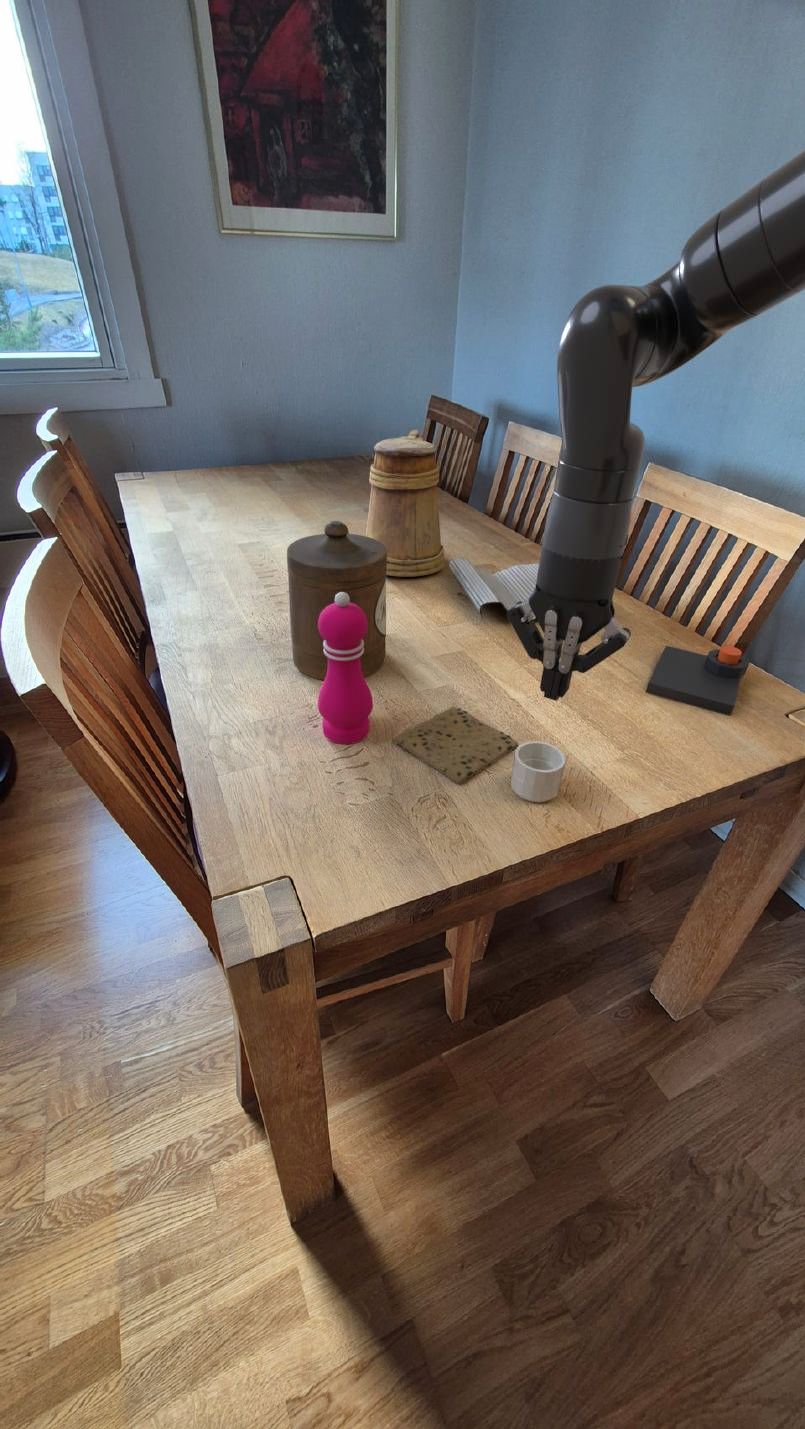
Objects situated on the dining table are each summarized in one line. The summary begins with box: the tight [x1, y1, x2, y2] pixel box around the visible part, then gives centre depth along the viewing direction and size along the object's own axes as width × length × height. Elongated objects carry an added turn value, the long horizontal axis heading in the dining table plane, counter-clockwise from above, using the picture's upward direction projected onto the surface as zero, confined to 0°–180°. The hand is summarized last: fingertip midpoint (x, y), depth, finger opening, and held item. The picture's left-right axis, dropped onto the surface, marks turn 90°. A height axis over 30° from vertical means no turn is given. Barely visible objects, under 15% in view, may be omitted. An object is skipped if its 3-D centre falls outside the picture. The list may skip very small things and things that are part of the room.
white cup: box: [509, 740, 567, 803], centre depth 74 cm, size 6×6×5 cm
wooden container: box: [286, 520, 387, 681], centre depth 95 cm, size 15×15×22 cm
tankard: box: [365, 429, 445, 578], centre depth 131 cm, size 18×24×25 cm
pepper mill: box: [317, 592, 374, 745], centre depth 79 cm, size 7×7×20 cm
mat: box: [448, 556, 539, 624], centre depth 122 cm, size 23×24×5 cm
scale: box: [645, 645, 750, 716], centre depth 96 cm, size 12×14×4 cm
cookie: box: [393, 706, 519, 785], centre depth 82 cm, size 12×12×1 cm
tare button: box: [718, 645, 743, 664], centre depth 97 cm, size 3×3×2 cm
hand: (553, 695), depth 69 cm, fingers closed
